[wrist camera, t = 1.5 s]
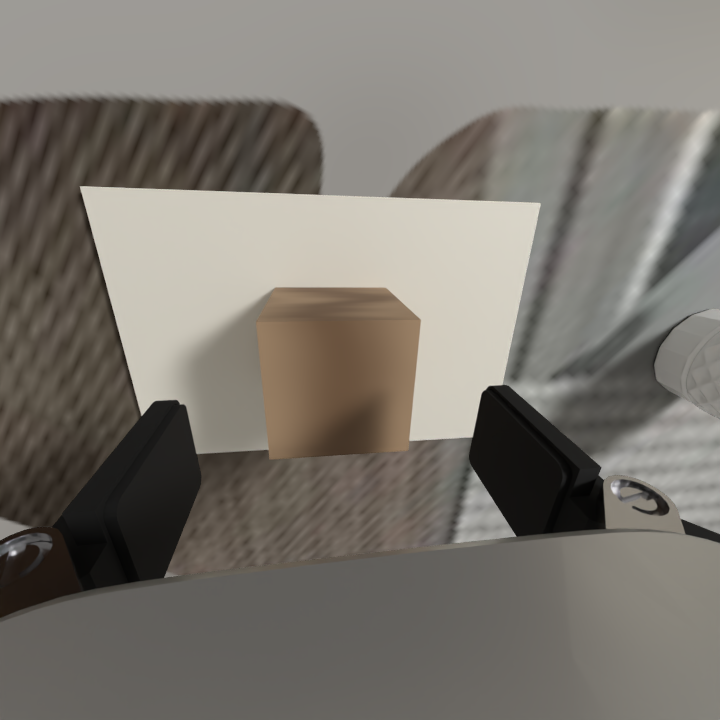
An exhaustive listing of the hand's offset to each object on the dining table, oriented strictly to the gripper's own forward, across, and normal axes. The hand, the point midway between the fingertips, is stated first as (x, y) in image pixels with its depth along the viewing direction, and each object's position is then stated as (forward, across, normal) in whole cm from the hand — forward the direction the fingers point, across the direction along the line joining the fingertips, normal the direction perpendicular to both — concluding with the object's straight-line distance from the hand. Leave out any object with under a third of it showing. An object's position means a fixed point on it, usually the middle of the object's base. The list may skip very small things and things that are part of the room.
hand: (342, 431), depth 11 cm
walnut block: (+10, 0, +1) cm, 11 cm away
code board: (+11, 0, +1) cm, 11 cm away
